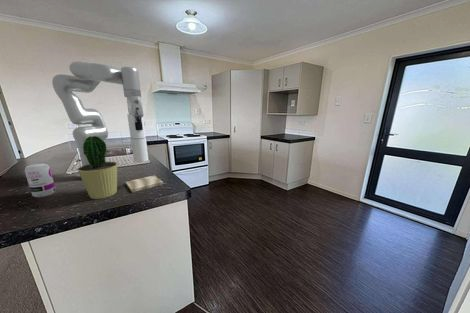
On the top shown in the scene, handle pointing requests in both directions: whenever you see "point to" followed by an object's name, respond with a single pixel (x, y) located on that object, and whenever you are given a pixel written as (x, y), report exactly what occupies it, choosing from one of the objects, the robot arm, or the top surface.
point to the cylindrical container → (138, 140)
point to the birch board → (143, 183)
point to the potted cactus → (98, 170)
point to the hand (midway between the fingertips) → (137, 129)
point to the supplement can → (40, 180)
